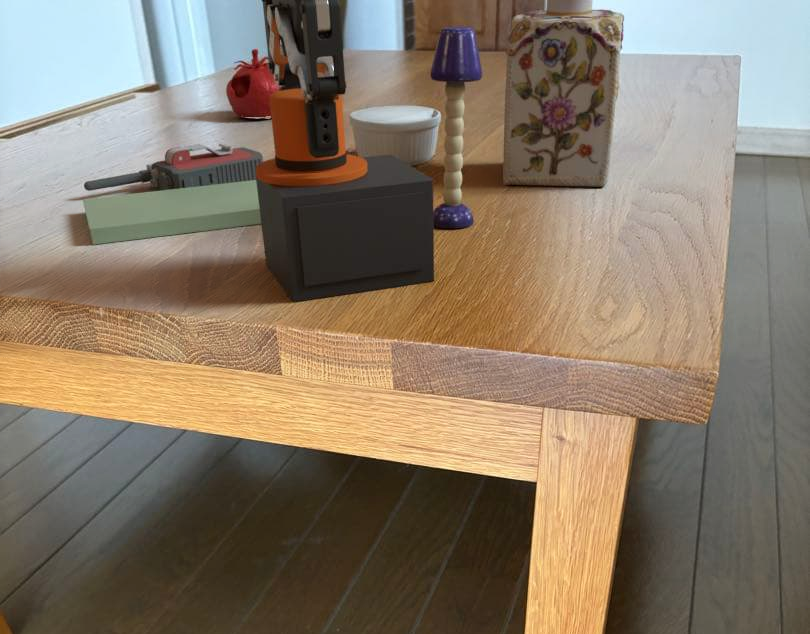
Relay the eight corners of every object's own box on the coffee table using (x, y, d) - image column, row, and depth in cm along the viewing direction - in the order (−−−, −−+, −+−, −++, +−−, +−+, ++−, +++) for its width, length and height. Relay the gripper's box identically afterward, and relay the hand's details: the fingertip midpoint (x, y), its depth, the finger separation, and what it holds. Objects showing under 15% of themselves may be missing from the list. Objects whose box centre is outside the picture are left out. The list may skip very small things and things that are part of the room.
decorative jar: (611, 163, 105) (628, -15, 95) (608, 188, 96) (628, -6, 85) (510, 162, 107) (517, -13, 97) (499, 186, 98) (505, -4, 87)
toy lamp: (443, 214, 89) (442, 24, 80) (486, 218, 88) (491, 25, 78) (423, 227, 86) (420, 30, 76) (467, 231, 84) (470, 30, 74)
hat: (269, 191, 67) (260, 107, 63) (246, 167, 74) (236, 90, 70) (382, 178, 69) (379, 96, 66) (349, 156, 76) (344, 81, 73)
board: (92, 245, 84) (89, 229, 83) (85, 213, 93) (82, 199, 92) (296, 219, 89) (295, 204, 88) (271, 192, 99) (269, 178, 98)
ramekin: (433, 170, 105) (433, 122, 102) (342, 169, 107) (339, 121, 104) (447, 150, 114) (447, 105, 111) (362, 149, 116) (360, 105, 113)
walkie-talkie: (241, 168, 109) (83, 197, 99) (236, 129, 106) (74, 155, 96) (277, 180, 103) (114, 213, 93) (273, 140, 100) (104, 169, 91)
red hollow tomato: (286, 108, 142) (280, 43, 137) (299, 119, 135) (293, 49, 129) (225, 114, 140) (216, 47, 135) (235, 124, 132) (226, 54, 127)
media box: (293, 303, 70) (282, 197, 65) (266, 265, 78) (254, 169, 73) (435, 281, 73) (434, 180, 68) (394, 247, 81) (391, 154, 76)
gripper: (216, -103, 65) (246, 134, 75) (256, -111, 54) (285, 170, 64) (314, -106, 67) (331, 126, 77) (371, -114, 56) (383, 158, 66)
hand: (310, 145), depth 70 cm, fingers open, 8 cm apart
